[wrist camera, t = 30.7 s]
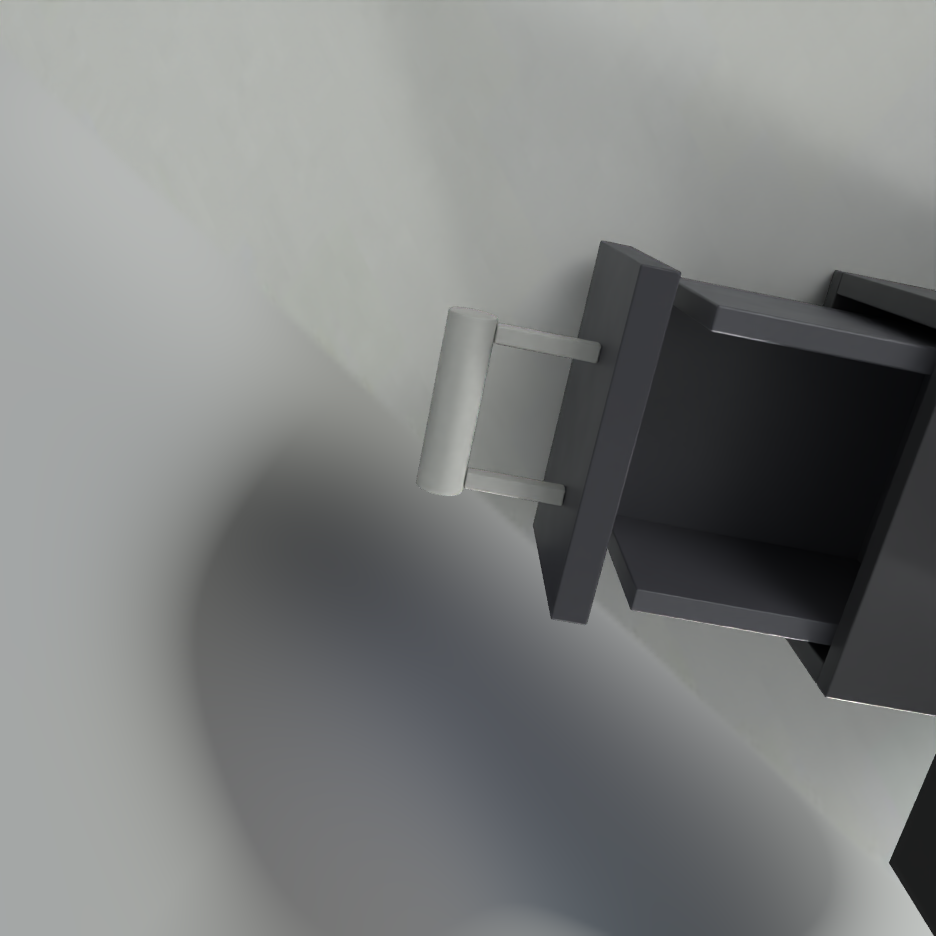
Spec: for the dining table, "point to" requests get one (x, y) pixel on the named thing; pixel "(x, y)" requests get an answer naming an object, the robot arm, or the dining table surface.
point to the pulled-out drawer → (698, 445)
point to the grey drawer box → (890, 548)
